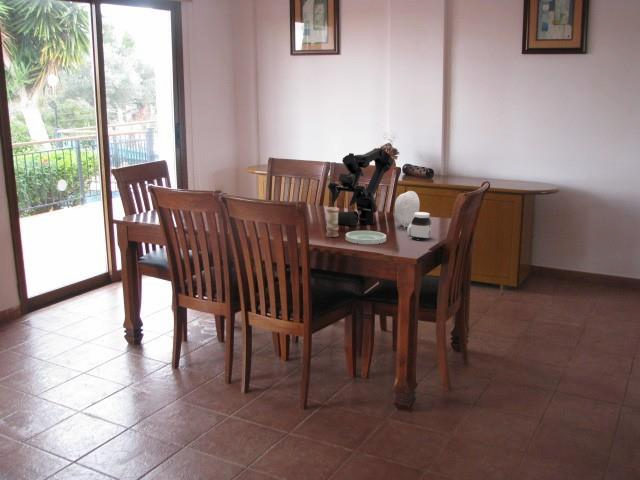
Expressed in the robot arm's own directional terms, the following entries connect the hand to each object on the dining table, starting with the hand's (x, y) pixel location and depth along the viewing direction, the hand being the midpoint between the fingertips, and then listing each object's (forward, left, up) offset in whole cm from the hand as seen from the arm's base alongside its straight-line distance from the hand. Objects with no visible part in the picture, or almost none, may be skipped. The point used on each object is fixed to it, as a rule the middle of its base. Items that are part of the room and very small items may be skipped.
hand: (341, 204), depth 326 cm
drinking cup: (+5, -23, -11) cm, 26 cm away
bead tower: (+4, +7, -13) cm, 15 cm away
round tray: (-11, +12, -13) cm, 21 cm away
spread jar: (-35, +6, -14) cm, 38 cm away
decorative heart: (-32, -16, -14) cm, 39 cm away
